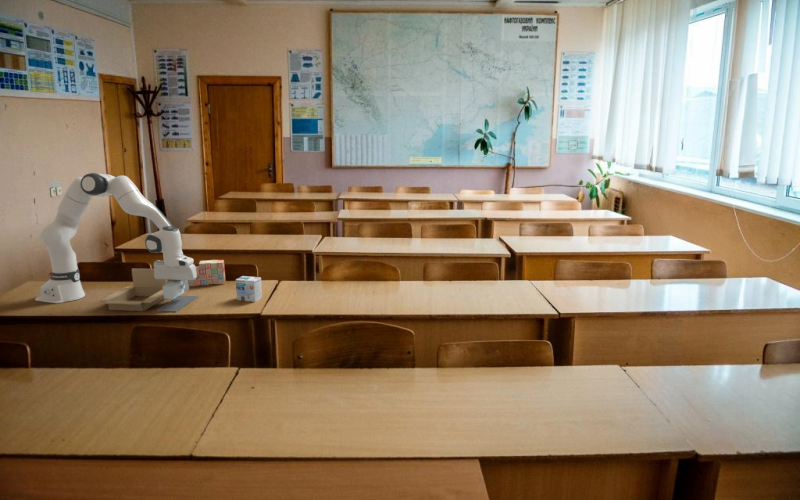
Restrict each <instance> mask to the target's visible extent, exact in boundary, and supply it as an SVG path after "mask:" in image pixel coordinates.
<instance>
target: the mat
mask: <svg viewBox="0 0 800 500" xmlns="http://www.w3.org/2000/svg"><path fill="white" fill-rule="evenodd" d="M198 298H199V295H179V296H178V297H176V298H175V299H170V301H168V302H167V303H165V304H163V305H162V306H161V307H159V308H157V309H156V310H155V312H156V313H177V312H179V311H180V310H183V308H185V307H186V306H188V305H190V303H192V302H193V300H194V301H196V299H198Z"/></svg>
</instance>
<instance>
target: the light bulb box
mask: <svg viewBox="0 0 800 500" xmlns="http://www.w3.org/2000/svg"><path fill="white" fill-rule="evenodd" d="M235 287H236V288H235V290H236V292H235V293H236V300H237V301H241V300H245V301H244V302H250V301H251V302H252V303H256V302H258V301H260V300H261V298H262V299H263V291H262V290H263V289H262V288H263V287H262V277H258V276H247V275H246V276H245V275H242V276H240V277H238V278H236V279H235Z"/></svg>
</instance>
